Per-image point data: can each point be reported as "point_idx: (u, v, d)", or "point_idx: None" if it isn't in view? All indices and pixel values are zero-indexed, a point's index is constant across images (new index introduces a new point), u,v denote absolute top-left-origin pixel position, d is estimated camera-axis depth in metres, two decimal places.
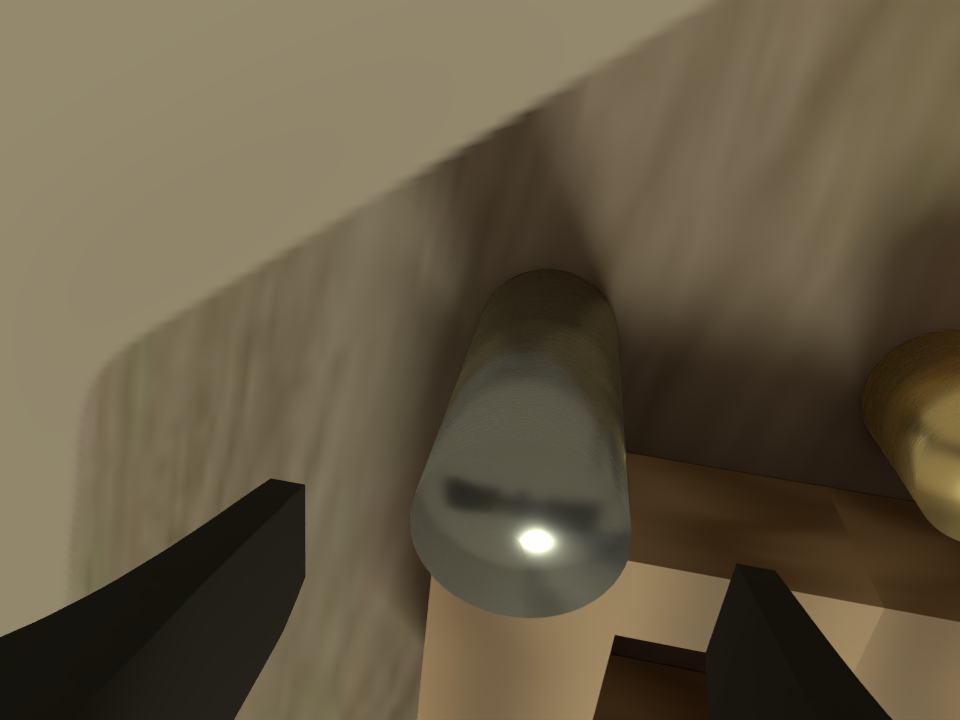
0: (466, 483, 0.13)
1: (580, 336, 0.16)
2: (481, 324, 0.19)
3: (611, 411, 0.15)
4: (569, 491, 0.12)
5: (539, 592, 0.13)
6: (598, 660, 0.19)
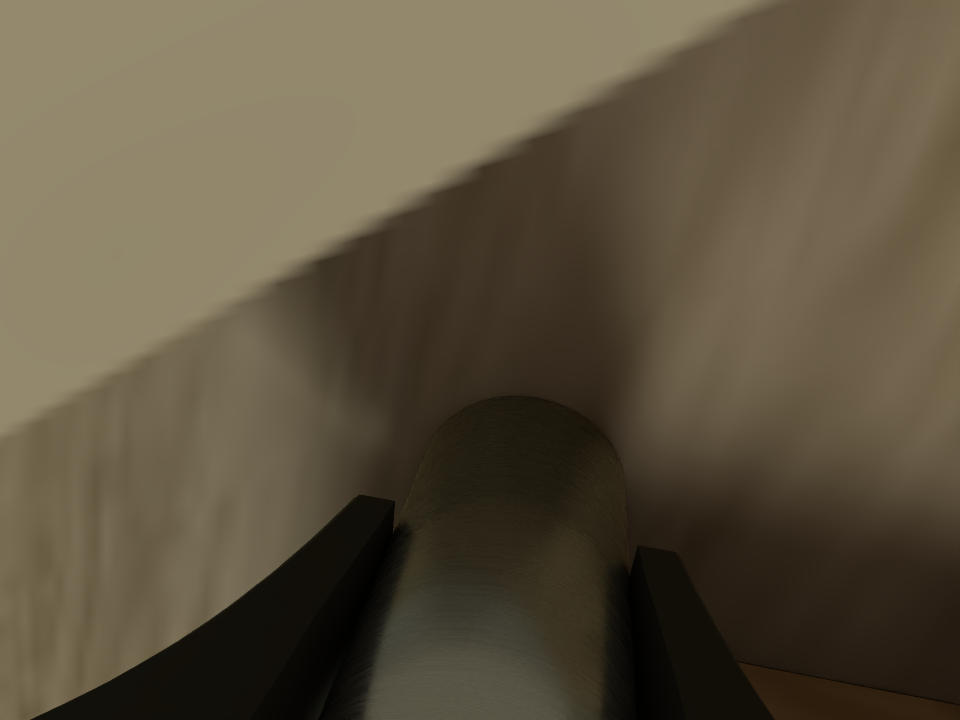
0: None
1: (565, 559, 0.10)
2: (412, 496, 0.12)
3: None
4: None
5: None
6: None
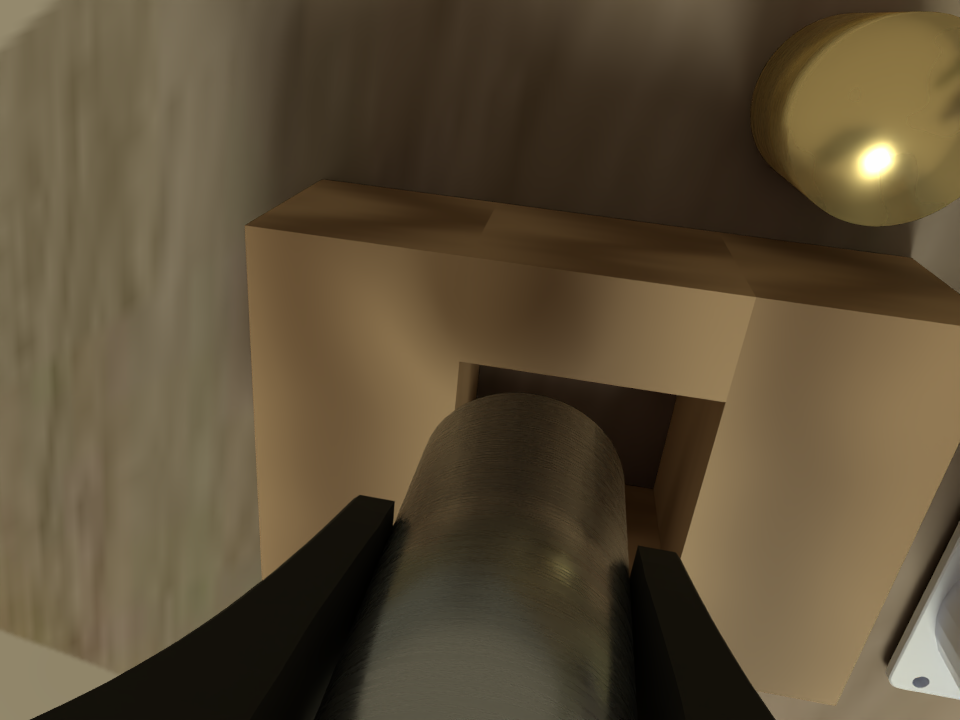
0: None
1: (560, 548, 0.10)
2: (409, 493, 0.12)
3: None
4: None
5: None
6: (445, 398, 0.17)
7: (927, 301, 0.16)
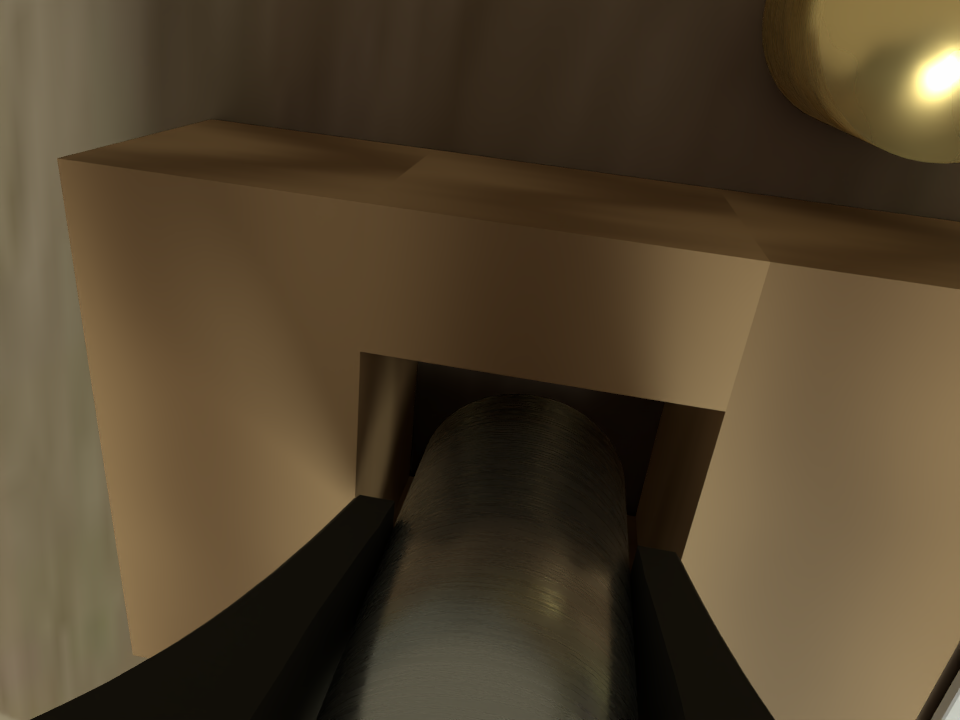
0: None
1: (561, 549, 0.10)
2: (409, 495, 0.12)
3: None
4: None
5: None
6: (344, 402, 0.12)
7: None
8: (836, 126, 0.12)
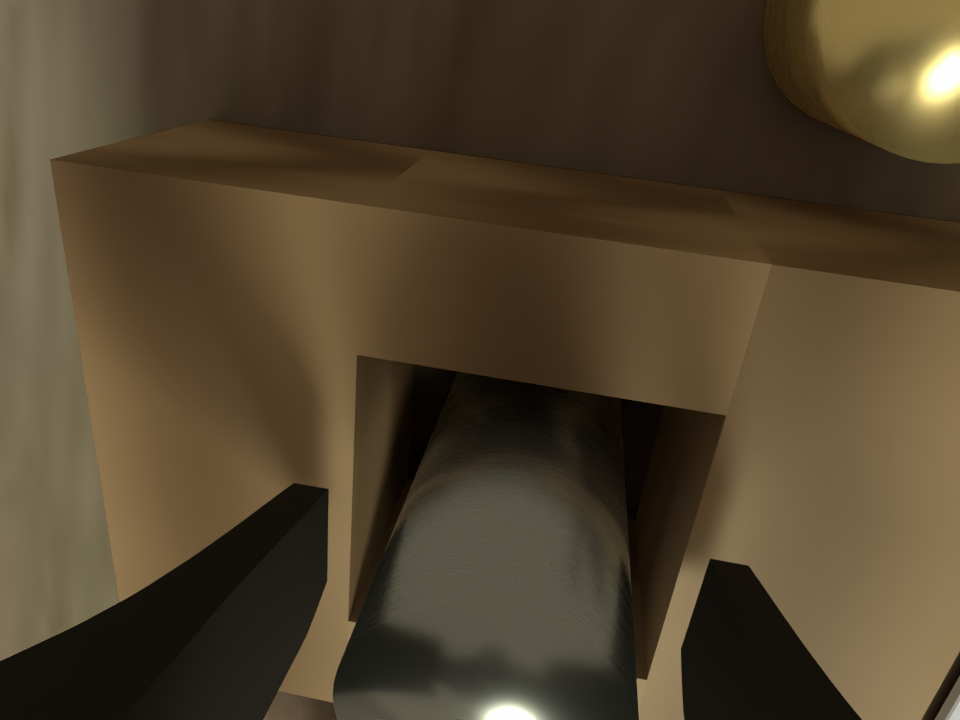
0: (406, 660, 0.09)
1: (570, 417, 0.13)
2: (450, 394, 0.15)
3: (610, 529, 0.11)
4: (549, 673, 0.09)
5: None
6: (341, 406, 0.12)
7: None
8: (838, 126, 0.12)
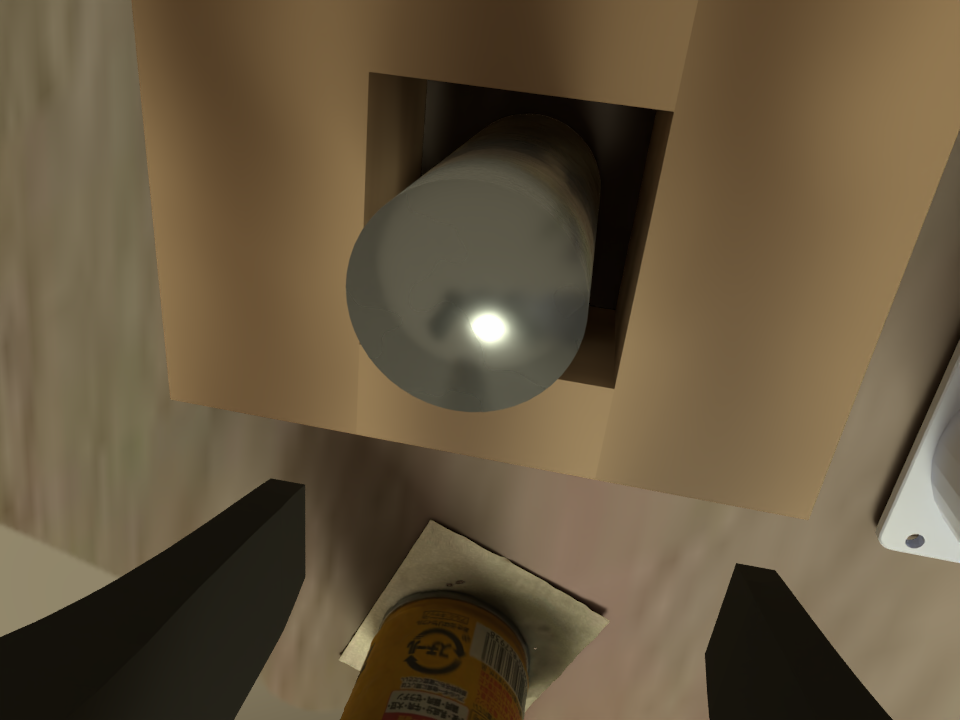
0: (404, 242, 0.11)
1: (549, 145, 0.15)
2: None
3: (575, 197, 0.13)
4: (516, 243, 0.11)
5: (491, 377, 0.12)
6: (355, 123, 0.15)
7: None
8: None
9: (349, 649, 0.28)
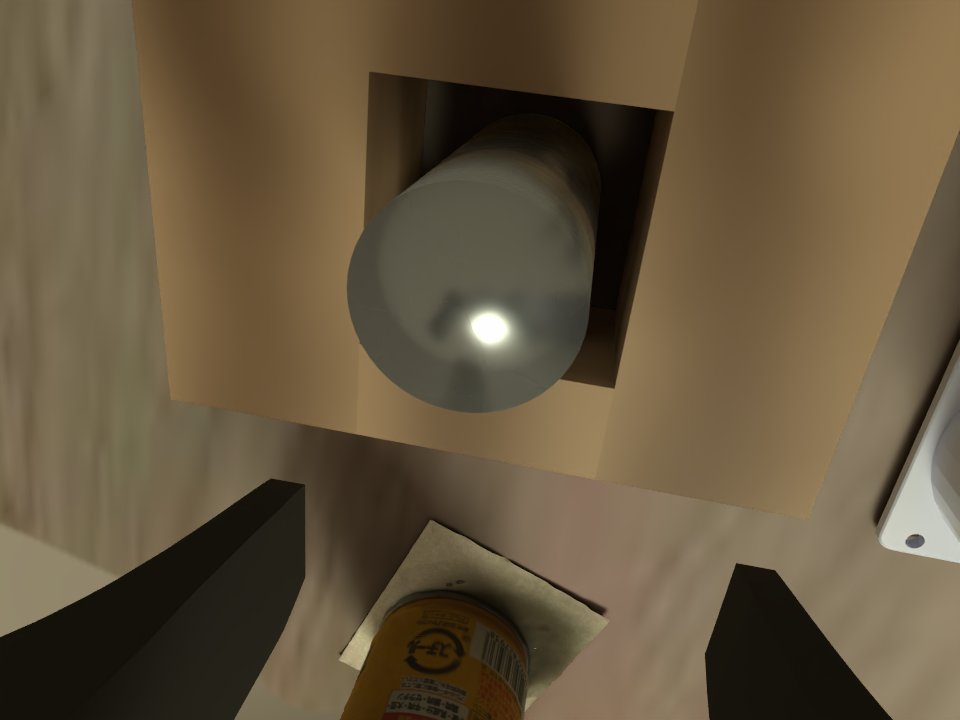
0: (404, 243, 0.11)
1: (549, 145, 0.15)
2: None
3: (575, 197, 0.13)
4: (516, 243, 0.11)
5: (492, 378, 0.12)
6: (355, 123, 0.15)
7: None
8: None
9: (349, 649, 0.28)
